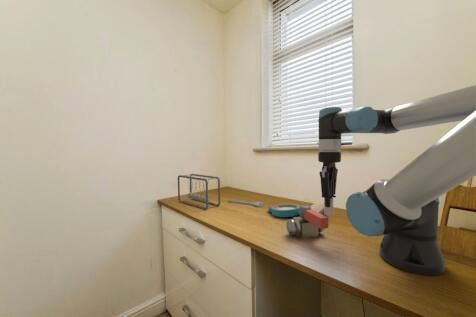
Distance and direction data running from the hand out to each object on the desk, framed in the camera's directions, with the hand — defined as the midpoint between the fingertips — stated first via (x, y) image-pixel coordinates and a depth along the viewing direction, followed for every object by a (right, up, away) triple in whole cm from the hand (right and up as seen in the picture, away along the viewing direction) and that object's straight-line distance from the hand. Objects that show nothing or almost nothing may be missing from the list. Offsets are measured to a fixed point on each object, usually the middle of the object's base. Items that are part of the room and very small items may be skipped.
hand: (328, 214), depth 76 cm
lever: (-6, -3, +1) cm, 6 cm away
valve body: (-7, -9, +6) cm, 13 cm away
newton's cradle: (-58, -8, +53) cm, 79 cm away
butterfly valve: (-4, -9, +28) cm, 30 cm away
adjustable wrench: (-28, -8, +53) cm, 60 cm away
